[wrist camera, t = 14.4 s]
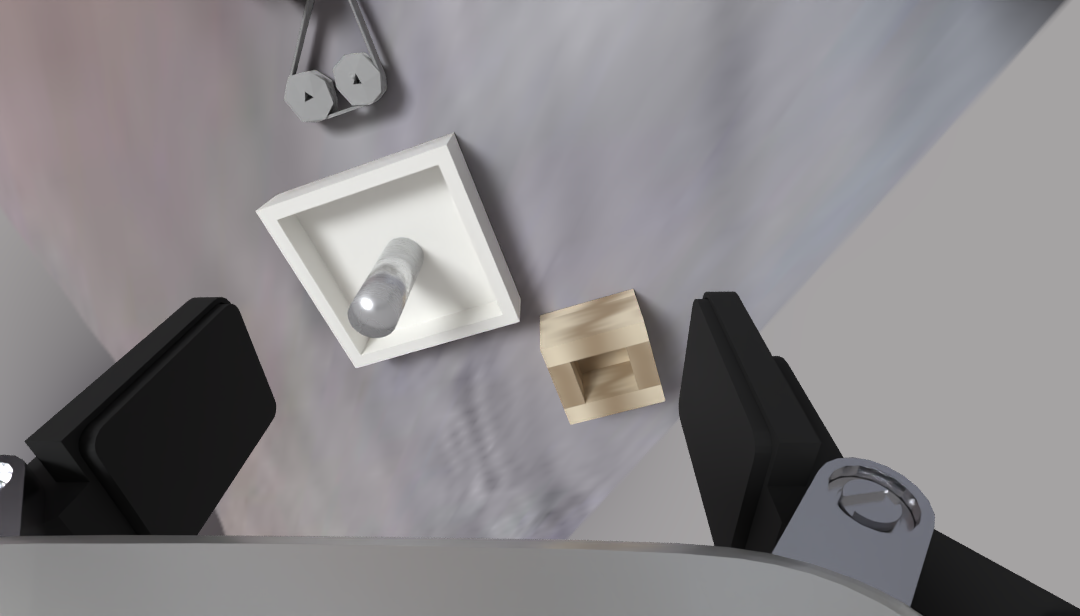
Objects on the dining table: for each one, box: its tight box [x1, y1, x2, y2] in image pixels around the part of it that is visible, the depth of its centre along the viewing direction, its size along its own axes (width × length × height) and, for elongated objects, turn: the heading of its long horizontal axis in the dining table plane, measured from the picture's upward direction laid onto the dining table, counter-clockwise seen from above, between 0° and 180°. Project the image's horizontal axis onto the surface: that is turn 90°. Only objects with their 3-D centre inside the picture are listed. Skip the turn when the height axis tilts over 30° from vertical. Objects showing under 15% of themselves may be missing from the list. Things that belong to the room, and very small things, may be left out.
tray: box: [256, 133, 521, 368], centre depth 39 cm, size 14×14×4 cm
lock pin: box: [348, 237, 424, 338], centre depth 36 cm, size 3×3×9 cm
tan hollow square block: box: [540, 289, 665, 425], centre depth 43 cm, size 8×8×5 cm
